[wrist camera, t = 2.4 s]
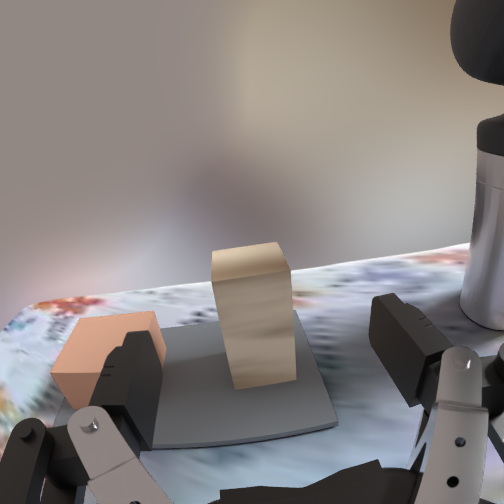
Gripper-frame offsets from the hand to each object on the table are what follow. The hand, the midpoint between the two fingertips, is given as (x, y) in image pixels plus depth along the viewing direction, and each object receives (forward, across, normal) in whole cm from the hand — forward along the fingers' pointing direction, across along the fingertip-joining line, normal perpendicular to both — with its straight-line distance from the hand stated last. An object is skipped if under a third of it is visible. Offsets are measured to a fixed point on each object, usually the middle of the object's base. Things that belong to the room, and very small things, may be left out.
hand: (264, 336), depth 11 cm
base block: (+12, +13, +12) cm, 21 cm away
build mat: (+12, +7, +13) cm, 19 cm away
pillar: (+12, 0, +12) cm, 17 cm away
